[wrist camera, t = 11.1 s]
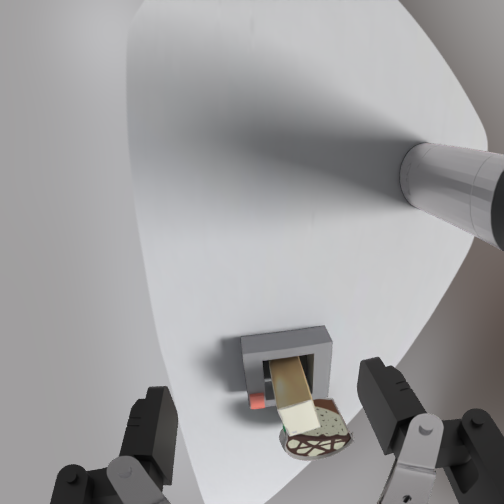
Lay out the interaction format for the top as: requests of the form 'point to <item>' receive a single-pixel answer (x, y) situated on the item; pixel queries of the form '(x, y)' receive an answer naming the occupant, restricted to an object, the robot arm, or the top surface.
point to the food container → (319, 435)
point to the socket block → (282, 346)
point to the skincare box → (293, 395)
